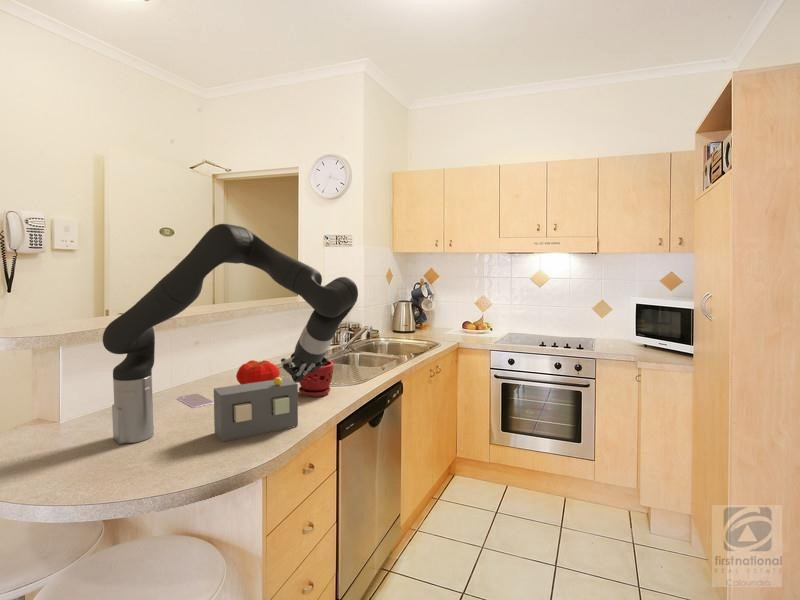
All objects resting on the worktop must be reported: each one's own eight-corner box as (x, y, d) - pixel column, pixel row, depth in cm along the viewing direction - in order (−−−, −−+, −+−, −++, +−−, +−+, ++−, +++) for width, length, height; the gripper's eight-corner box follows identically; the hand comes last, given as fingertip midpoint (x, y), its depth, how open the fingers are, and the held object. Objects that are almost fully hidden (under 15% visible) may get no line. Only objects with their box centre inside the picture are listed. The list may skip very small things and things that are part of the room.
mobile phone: (193, 406, 153) (175, 396, 163) (193, 409, 153) (176, 399, 163) (215, 401, 158) (197, 392, 169) (215, 404, 158) (197, 395, 169)
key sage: (289, 412, 134) (289, 398, 134) (275, 415, 131) (275, 400, 131) (284, 408, 137) (284, 395, 137) (270, 411, 135) (270, 397, 134)
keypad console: (297, 426, 138) (297, 375, 137) (221, 441, 125) (220, 386, 124) (287, 418, 144) (287, 370, 143) (214, 432, 132) (213, 380, 130)
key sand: (251, 419, 128) (251, 404, 127) (236, 422, 125) (236, 407, 125) (247, 415, 131) (247, 401, 130) (232, 418, 128) (231, 403, 128)
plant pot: (297, 399, 164) (297, 366, 163) (297, 389, 176) (297, 358, 175) (334, 397, 167) (334, 365, 166) (331, 387, 179) (331, 357, 178)
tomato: (286, 386, 181) (286, 361, 180) (247, 394, 169) (246, 368, 168) (268, 379, 191) (267, 356, 190) (230, 386, 179) (229, 361, 178)
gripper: (334, 326, 118) (314, 364, 129) (284, 331, 111) (268, 371, 122) (344, 350, 114) (322, 387, 125) (293, 356, 107) (275, 395, 118)
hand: (296, 379), depth 124 cm, fingers closed
